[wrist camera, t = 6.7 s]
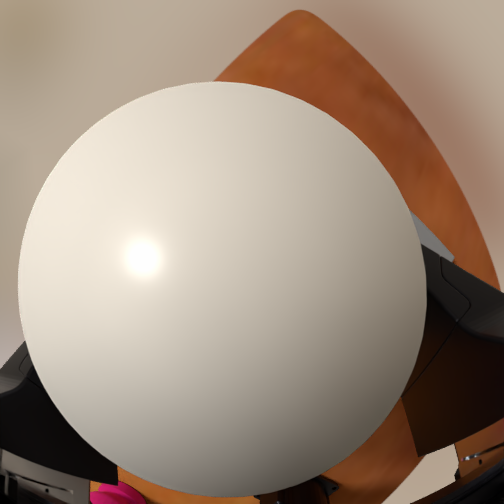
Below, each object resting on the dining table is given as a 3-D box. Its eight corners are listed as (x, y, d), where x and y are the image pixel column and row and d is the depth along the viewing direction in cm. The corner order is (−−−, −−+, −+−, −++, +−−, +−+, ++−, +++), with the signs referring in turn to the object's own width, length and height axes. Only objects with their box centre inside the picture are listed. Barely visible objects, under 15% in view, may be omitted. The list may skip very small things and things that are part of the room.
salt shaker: (328, 235, 14) (451, 147, 3) (293, 359, 14) (328, 520, 3) (204, 203, 15) (83, 80, 4) (172, 323, 15) (14, 395, 4)
